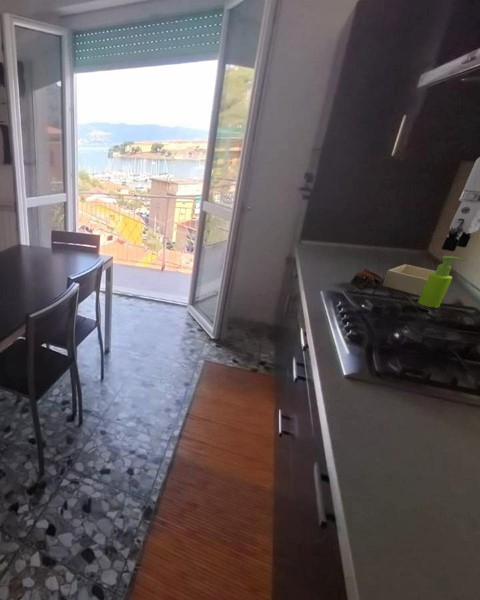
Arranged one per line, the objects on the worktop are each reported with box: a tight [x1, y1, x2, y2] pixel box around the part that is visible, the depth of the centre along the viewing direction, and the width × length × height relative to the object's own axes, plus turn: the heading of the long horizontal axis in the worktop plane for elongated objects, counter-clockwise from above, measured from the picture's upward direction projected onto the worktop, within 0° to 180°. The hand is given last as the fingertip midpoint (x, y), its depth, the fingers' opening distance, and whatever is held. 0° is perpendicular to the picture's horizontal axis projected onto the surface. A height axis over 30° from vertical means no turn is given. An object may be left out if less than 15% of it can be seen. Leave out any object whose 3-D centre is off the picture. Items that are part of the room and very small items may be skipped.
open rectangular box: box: [382, 263, 436, 297], centre depth 149 cm, size 14×16×7 cm
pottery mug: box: [349, 268, 383, 289], centre depth 150 cm, size 12×10×8 cm
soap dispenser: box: [417, 255, 465, 308], centre depth 127 cm, size 6×7×20 cm
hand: (453, 248), depth 122 cm, fingers open, 9 cm apart
